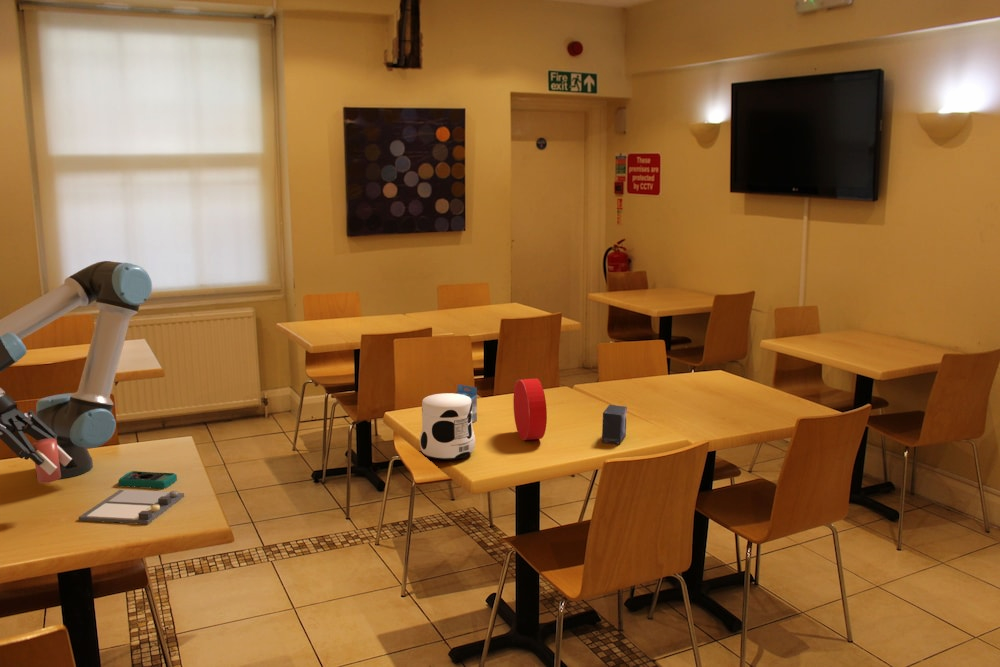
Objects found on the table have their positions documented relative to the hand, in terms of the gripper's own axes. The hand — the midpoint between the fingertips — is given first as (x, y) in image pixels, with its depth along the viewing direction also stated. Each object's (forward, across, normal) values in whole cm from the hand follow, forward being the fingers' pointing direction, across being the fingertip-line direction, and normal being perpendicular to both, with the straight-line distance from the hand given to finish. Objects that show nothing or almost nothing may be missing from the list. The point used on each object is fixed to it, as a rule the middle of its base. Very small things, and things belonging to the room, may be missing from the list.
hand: (60, 466), depth 225 cm
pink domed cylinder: (0, 0, -5) cm, 5 cm away
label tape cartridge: (+74, -97, +51) cm, 132 cm away
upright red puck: (+92, -80, +69) cm, 139 cm away
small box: (+112, -82, +88) cm, 164 cm away
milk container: (+74, -60, +52) cm, 109 cm away
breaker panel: (+20, -7, 0) cm, 21 cm away
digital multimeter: (+17, -25, -4) cm, 30 cm away
